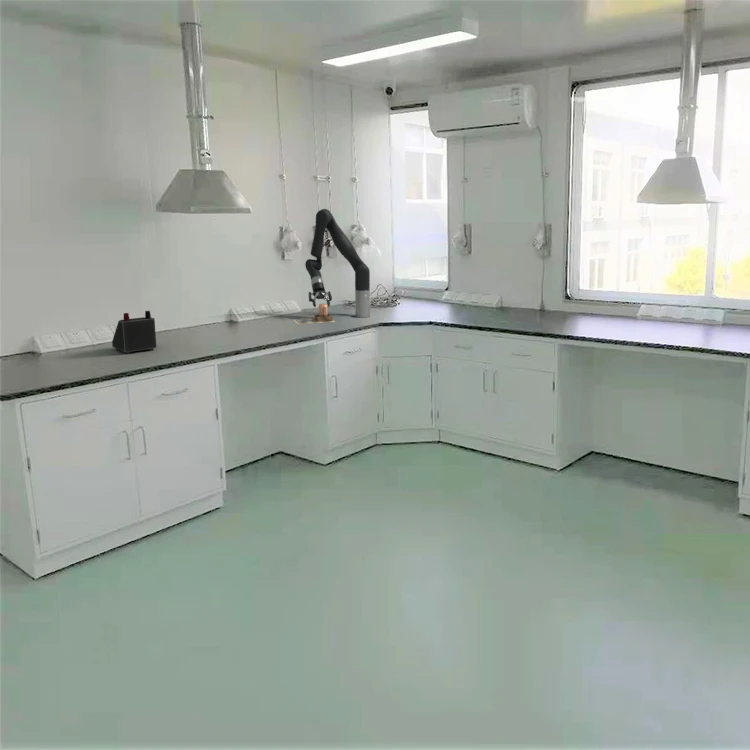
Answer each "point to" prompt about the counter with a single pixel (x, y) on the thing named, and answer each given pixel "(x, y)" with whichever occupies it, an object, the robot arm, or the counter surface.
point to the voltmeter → (135, 334)
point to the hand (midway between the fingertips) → (321, 306)
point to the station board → (316, 320)
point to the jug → (323, 310)
